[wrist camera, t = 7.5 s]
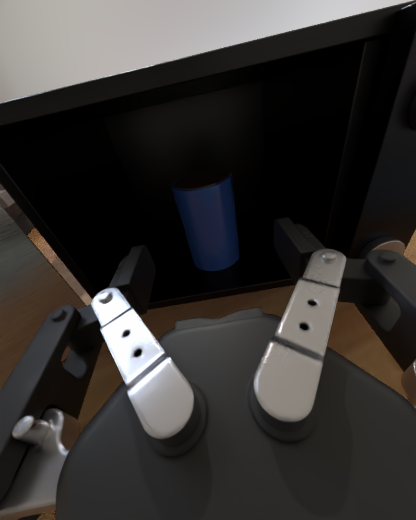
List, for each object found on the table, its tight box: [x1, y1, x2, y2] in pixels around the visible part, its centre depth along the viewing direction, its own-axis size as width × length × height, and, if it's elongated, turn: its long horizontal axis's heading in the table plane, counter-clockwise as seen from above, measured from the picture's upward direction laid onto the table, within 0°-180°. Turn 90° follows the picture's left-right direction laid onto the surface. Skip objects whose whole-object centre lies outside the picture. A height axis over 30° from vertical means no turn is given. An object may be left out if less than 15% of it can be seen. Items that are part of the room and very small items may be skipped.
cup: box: [171, 169, 240, 271], centre depth 24 cm, size 6×6×10 cm
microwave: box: [0, 0, 416, 310], centre depth 24 cm, size 24×30×19 cm
